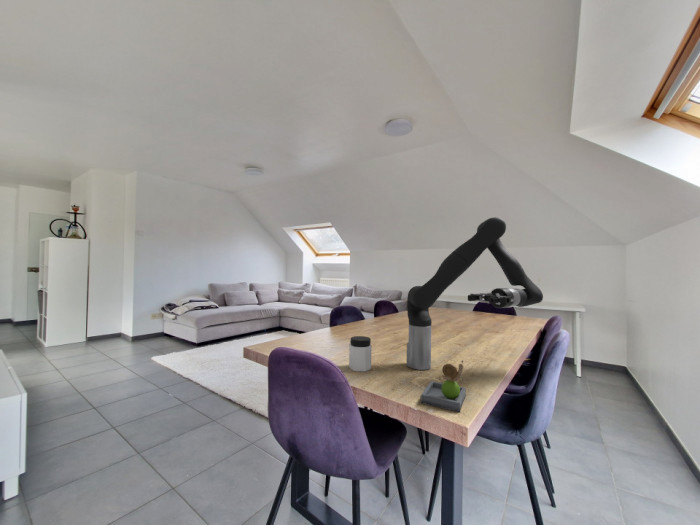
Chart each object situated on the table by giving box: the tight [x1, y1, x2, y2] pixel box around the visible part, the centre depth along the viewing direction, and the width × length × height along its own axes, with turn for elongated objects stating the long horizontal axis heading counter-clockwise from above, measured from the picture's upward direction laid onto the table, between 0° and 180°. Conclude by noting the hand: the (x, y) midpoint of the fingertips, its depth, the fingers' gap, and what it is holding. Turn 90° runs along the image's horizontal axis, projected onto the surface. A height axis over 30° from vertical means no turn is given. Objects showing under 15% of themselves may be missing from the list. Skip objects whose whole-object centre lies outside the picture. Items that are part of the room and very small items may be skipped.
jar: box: [348, 335, 373, 373], centre depth 119 cm, size 9×8×12 cm
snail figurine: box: [441, 359, 465, 399], centre depth 90 cm, size 5×6×12 cm
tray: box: [420, 380, 467, 413], centre depth 92 cm, size 11×13×2 cm
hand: (479, 299), depth 106 cm, fingers open, 8 cm apart
